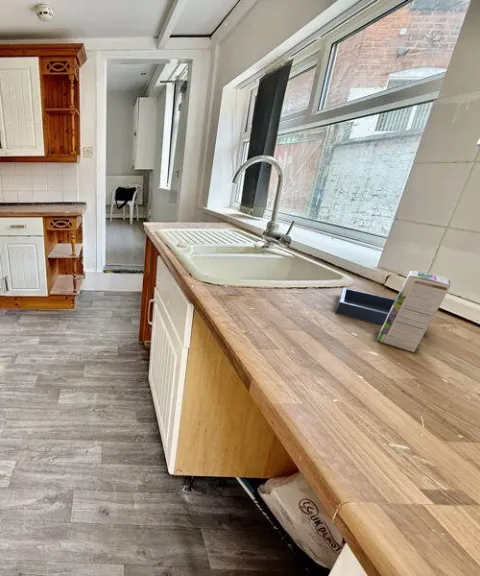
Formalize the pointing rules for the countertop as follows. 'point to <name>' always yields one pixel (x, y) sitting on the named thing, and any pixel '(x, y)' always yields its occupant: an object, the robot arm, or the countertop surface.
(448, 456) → the countertop surface
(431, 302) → the syrup box
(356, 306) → the tray
